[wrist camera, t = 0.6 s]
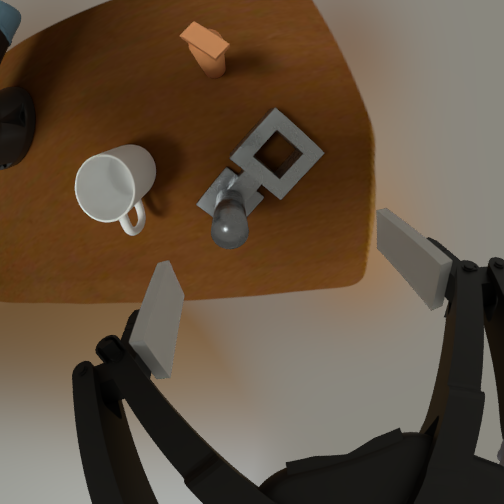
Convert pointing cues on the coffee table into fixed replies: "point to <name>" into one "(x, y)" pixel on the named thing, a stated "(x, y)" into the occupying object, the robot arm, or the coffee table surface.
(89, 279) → the coffee table surface
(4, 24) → the robot arm
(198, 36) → the wedge pin
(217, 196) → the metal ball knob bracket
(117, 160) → the cup
